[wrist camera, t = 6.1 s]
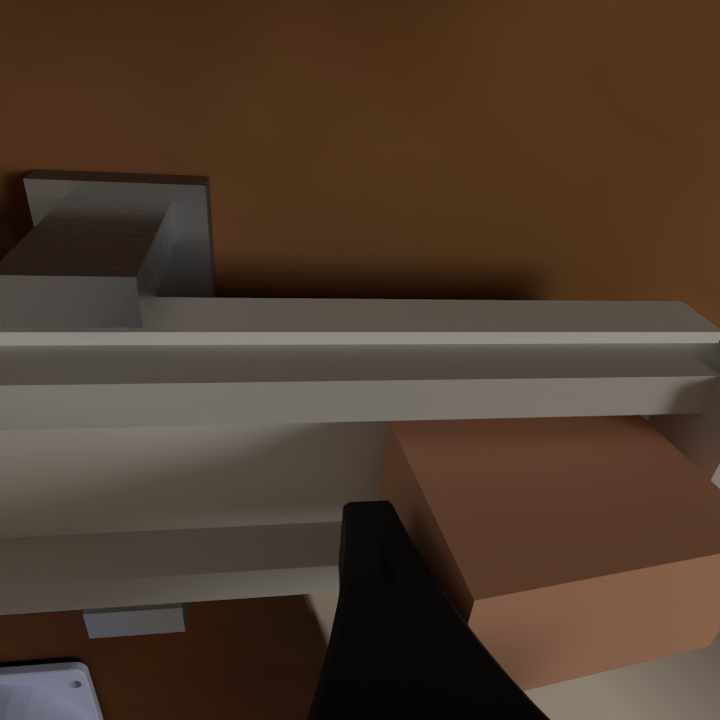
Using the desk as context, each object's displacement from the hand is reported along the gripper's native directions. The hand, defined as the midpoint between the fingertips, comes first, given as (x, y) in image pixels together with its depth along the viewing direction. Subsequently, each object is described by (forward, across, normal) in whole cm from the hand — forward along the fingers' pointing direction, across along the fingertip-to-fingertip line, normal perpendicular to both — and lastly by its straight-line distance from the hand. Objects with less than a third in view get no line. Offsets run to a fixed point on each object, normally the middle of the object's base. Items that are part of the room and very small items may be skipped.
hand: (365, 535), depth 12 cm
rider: (+2, -4, 0) cm, 4 cm away
